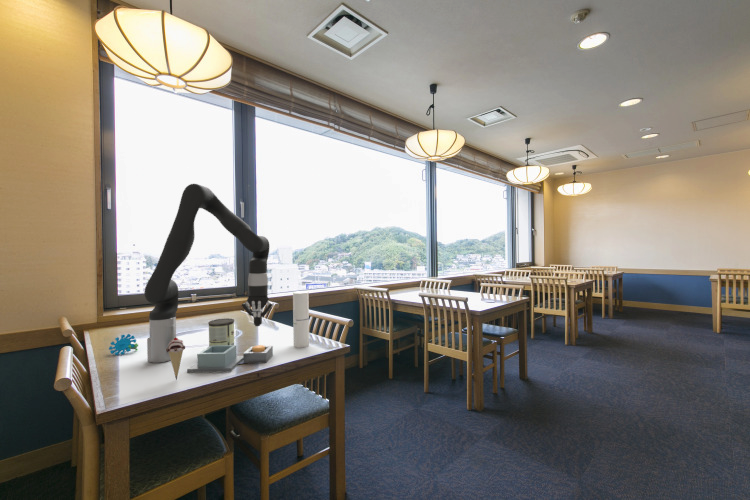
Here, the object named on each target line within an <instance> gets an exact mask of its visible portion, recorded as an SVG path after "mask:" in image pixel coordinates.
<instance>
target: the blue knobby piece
mask: <svg viewBox="0 0 750 500" xmlns="http://www.w3.org/2000/svg"><path fill="white" fill-rule="evenodd" d="M114 340H115V341H116V342H115V341H111V342H110V345H111V346H109V347H108V350H110V354H114V355H115V356H119V354H120V355H125V352H131V350H135V351H136V350H139V349H138V347H139V344H138V343H137V339H136V337H135V336H134V335H131V334H130V333H128V334H121V335H120V337H118V336H117V337H115V338H114Z"/></svg>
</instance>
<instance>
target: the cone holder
mask: <svg viewBox="0 0 750 500" xmlns="http://www.w3.org/2000/svg"><path fill="white" fill-rule="evenodd" d="M196 356H197V358H196V361H197V362H196V363H194V364H192V365H191V366H190V367H188V368H187V370H186V371H187V373H219V372H220V373H222V372H224V373H225V372H226V373H227V372H230V373H231V372H232V371H233V370H234V369H235V368H237V367H238V366H239V364H241V363H242V362H244V358H243V355H237V344H234V345H215V346H209V345H208V346H207V347H206V348H204V349H203V350H202V351H200V352H198V353H197V355H196Z"/></svg>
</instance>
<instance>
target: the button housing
mask: <svg viewBox="0 0 750 500" xmlns="http://www.w3.org/2000/svg"><path fill="white" fill-rule="evenodd" d="M254 346H255V345H252V346H250V347H249V348H247V350H244V352H243V353H242V354H243V355H242V356H243V358H244V360H243V364H265V363H267V362H268V361H269V360H271V358H272V357H273V355H274V353H273V352H274V351H273V350H274V349H273V347H274V346H273V345H264V346H265V351H264V352H252V347H254Z"/></svg>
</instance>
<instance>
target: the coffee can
mask: <svg viewBox="0 0 750 500" xmlns="http://www.w3.org/2000/svg"><path fill="white" fill-rule="evenodd" d="M207 323H208V344H209V345H208V347H209V346H215V345H235V319H234V318H216V319H212V320H209V321H208V322H207Z"/></svg>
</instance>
